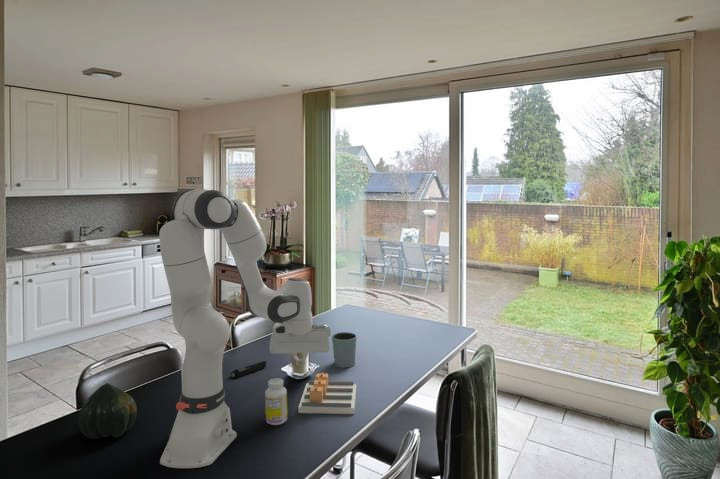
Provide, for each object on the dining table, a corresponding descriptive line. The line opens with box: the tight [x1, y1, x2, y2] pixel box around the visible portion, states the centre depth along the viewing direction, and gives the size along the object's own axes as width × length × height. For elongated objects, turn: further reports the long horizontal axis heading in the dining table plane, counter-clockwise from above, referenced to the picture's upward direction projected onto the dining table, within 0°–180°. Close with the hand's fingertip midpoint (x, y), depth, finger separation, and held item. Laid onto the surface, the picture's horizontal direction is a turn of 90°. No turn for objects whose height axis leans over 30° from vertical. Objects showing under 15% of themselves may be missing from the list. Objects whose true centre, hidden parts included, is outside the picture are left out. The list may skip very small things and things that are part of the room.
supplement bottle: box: [264, 377, 288, 426], centre depth 141 cm, size 7×7×13 cm
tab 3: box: [310, 386, 323, 402], centre depth 149 cm, size 3×4×5 cm
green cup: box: [331, 331, 357, 369], centre depth 187 cm, size 10×10×12 cm
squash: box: [77, 382, 138, 440], centre depth 134 cm, size 14×15×15 cm
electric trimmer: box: [229, 360, 267, 380], centre depth 178 cm, size 4×16×3 cm, turn 137°
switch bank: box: [297, 380, 357, 415], centre depth 155 cm, size 18×18×3 cm
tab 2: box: [313, 379, 327, 395], centre depth 154 cm, size 3×4×5 cm
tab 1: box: [315, 371, 329, 388], centre depth 160 cm, size 3×4×5 cm
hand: (300, 364), depth 154 cm, fingers closed
